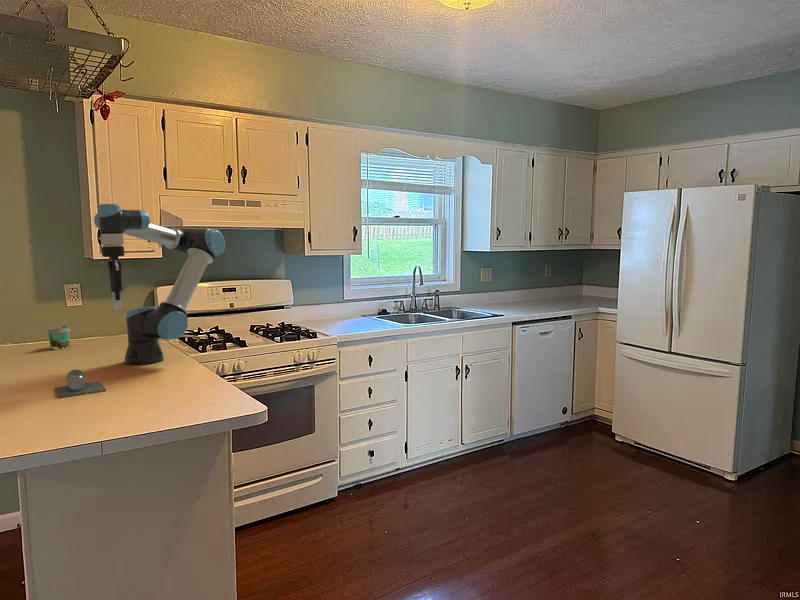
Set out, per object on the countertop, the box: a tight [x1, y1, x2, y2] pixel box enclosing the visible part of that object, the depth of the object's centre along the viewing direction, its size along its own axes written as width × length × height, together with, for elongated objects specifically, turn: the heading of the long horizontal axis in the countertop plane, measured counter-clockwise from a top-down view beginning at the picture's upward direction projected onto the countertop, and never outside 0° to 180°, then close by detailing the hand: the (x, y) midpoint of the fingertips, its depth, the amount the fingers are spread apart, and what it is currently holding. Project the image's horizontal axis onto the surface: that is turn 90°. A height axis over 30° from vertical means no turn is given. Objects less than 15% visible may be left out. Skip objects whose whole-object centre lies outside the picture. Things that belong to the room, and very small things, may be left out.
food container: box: [47, 325, 71, 349], centre depth 269 cm, size 12×6×10 cm, turn 179°
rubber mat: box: [54, 380, 107, 398], centre depth 193 cm, size 14×14×1 cm
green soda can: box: [66, 369, 87, 391], centre depth 194 cm, size 5×5×12 cm
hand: (118, 308), depth 211 cm, fingers closed
